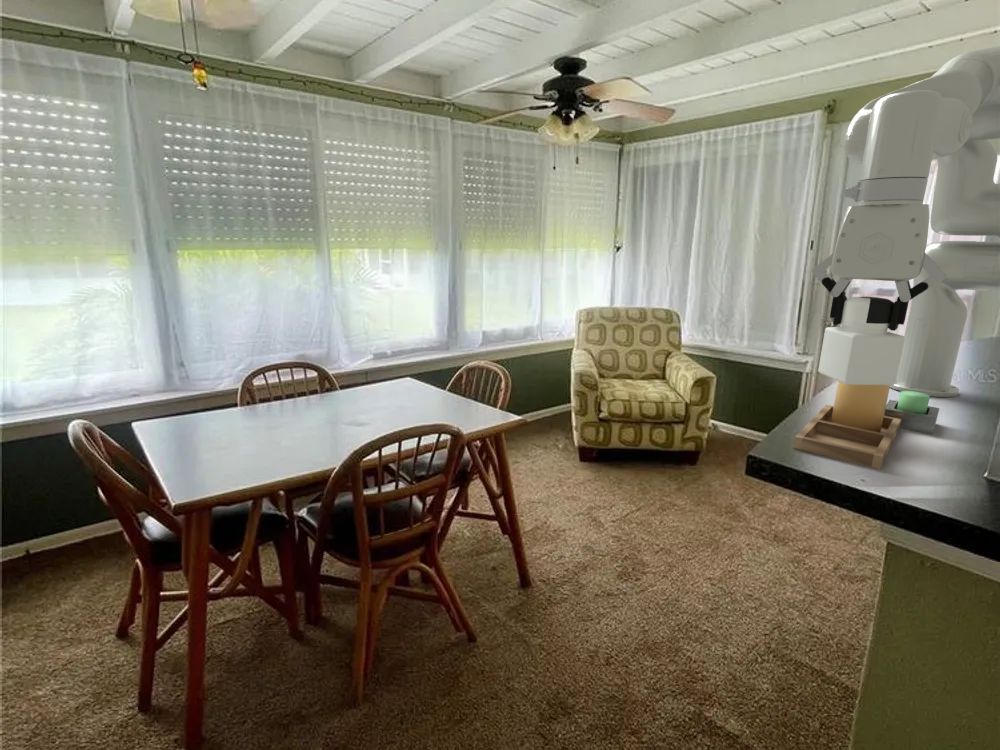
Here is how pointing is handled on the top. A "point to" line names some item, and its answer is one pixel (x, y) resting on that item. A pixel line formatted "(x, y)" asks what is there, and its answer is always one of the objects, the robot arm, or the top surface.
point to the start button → (913, 402)
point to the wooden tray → (847, 439)
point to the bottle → (860, 406)
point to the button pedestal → (913, 418)
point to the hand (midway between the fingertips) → (864, 325)
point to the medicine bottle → (862, 344)
